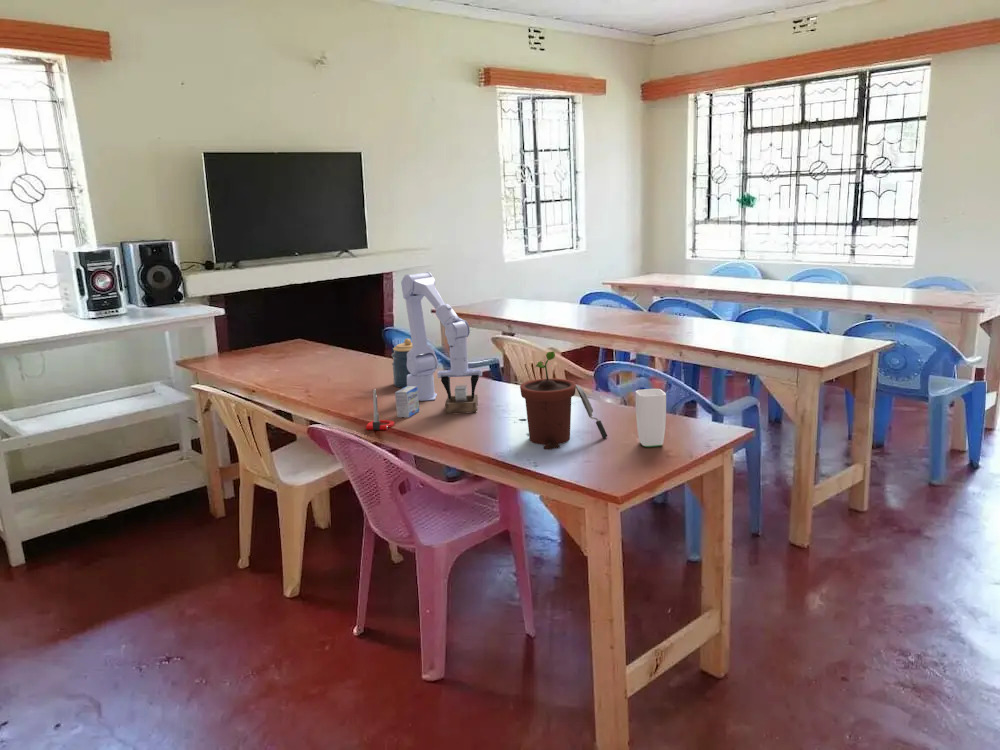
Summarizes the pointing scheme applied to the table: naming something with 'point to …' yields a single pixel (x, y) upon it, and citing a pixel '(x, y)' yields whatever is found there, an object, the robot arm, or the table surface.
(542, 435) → the potted plant
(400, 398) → the medicine box
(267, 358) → the table surface
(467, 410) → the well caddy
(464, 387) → the grey two-tone block
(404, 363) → the canister
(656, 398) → the cup
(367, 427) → the tow hook
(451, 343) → the robot arm
